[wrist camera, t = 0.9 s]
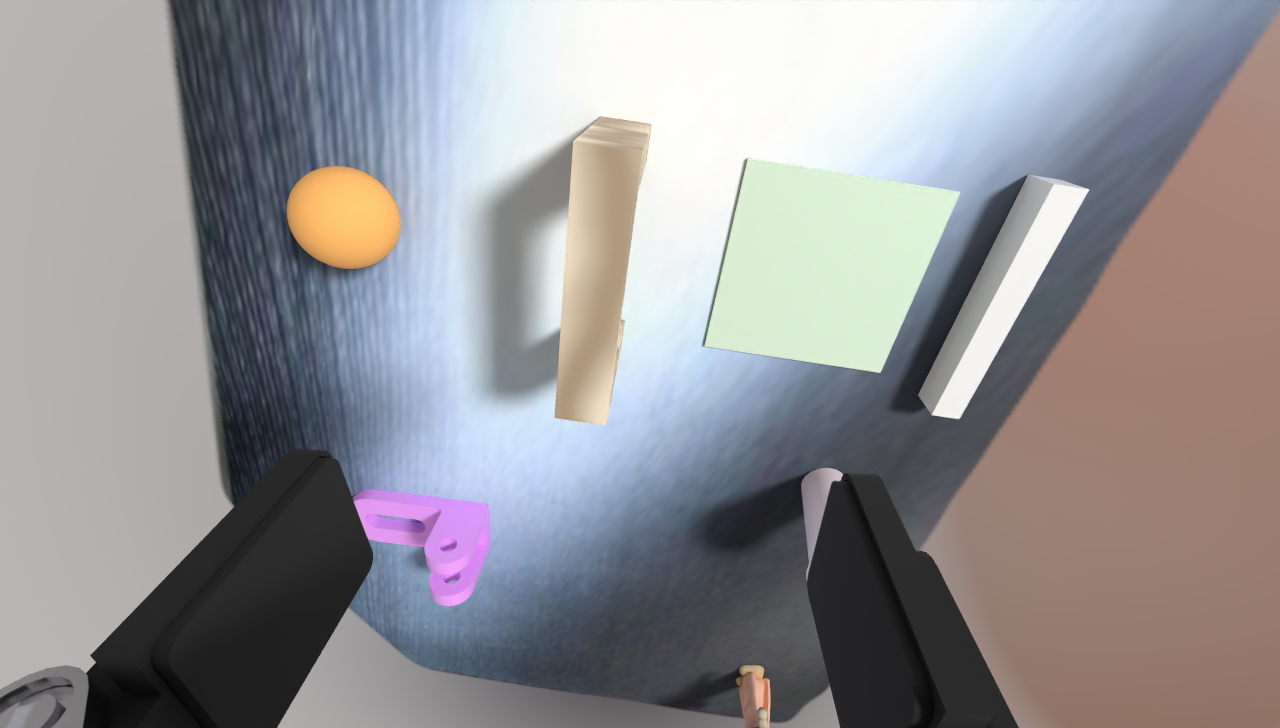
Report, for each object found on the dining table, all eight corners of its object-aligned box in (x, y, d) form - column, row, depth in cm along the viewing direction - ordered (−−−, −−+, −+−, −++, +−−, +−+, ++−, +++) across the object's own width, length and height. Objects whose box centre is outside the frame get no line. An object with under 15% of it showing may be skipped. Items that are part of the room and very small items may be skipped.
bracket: (489, 502, 48) (462, 566, 42) (491, 543, 51) (466, 608, 45) (347, 484, 48) (301, 545, 42) (357, 526, 51) (315, 589, 45)
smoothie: (866, 504, 45) (935, 667, 33) (791, 517, 47) (831, 679, 35) (858, 448, 42) (929, 605, 30) (777, 464, 44) (816, 621, 32)
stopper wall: (1028, 174, 31) (1053, 184, 29) (1061, 179, 31) (1089, 189, 29) (917, 395, 39) (931, 414, 37) (943, 399, 40) (959, 419, 37)
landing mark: (747, 158, 32) (747, 158, 32) (958, 191, 32) (960, 192, 32) (704, 345, 38) (704, 346, 38) (879, 371, 39) (880, 372, 38)
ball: (316, 150, 33) (250, 169, 28) (412, 165, 33) (363, 187, 28) (332, 243, 36) (275, 275, 31) (420, 256, 36) (377, 291, 31)
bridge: (580, 338, 39) (554, 417, 30) (600, 116, 31) (573, 141, 23) (621, 344, 39) (606, 425, 30) (651, 124, 31) (642, 151, 23)
